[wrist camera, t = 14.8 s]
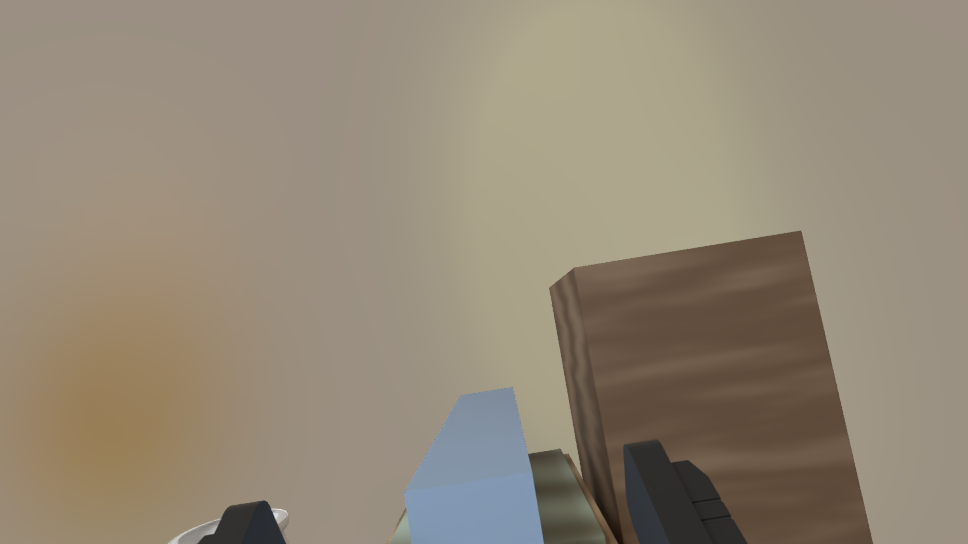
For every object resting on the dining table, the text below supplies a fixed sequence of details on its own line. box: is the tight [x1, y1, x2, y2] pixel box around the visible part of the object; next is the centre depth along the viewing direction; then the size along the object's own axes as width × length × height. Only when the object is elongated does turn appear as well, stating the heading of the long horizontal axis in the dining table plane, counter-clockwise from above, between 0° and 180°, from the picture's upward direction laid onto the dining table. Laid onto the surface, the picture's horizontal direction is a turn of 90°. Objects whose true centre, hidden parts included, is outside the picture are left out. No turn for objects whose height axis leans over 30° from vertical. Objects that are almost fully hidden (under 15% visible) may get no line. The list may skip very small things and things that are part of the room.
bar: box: [404, 387, 544, 544], centre depth 28 cm, size 24×4×4 cm, turn 178°
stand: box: [549, 231, 873, 544], centre depth 33 cm, size 14×12×32 cm
